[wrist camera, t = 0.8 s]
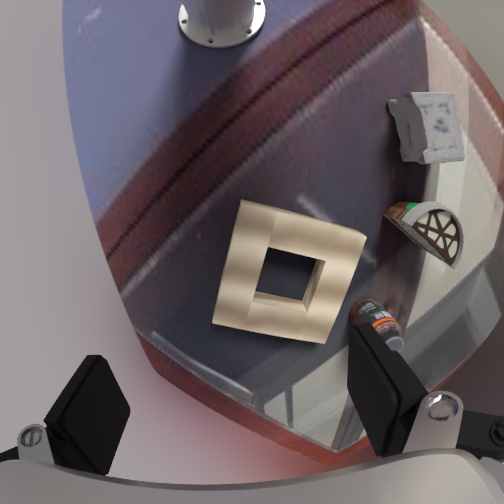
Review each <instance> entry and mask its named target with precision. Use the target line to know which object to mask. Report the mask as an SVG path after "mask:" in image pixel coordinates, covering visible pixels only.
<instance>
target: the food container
mask: <svg viewBox="0 0 504 504" xmlns="http://www.w3.org/2000/svg"><path fill="white" fill-rule="evenodd" d="M383 215H384V216H385V217H386V218H387V219H389V220H390V221H391V222H392V223H393V224H394V225H396V226H397V227H398V228H399V229H400V230H401V231H402V232H404V233H405V234H406V235H407V236H408V237H409V238H410V239H411V240H412V241H413V242H415V243H416V244H417V245H418V246H419V247H421V248H423V249H424V250H426V251H427V252H429V253H431V254H432V255H434V256H435V257H437V258H438V259H440V260H442V261H443V262H445V263H446V264H448V265H449V266H450V267H452V268H454V269H455V268H456V267H457V265H458V263H459V261H460V258H461V255H462V251H463V244H464V235H463V229H462V226H461V224H460V221H459V220H458V218H457V217H456V215H455V214H454V213H453V212H452V211H451V210H450V209H449V208H447V207H446V206H445V205H443V204H441V203H438V202H434V201H428V202H423V203H415V202H409V201H400V202H397V203H395V204H393V205H391V206H390V207H389V208H388V209H387V210H386V211H385V212H384V214H383Z"/></svg>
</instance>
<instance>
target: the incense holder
mask: <svg viewBox="0 0 504 504" xmlns="http://www.w3.org/2000/svg"><path fill="white" fill-rule="evenodd" d="M387 104H388V107H389V110H390V113H391V114H392V115H393V117H394V118H395V122H396V127H397V132H398V135H399V138H400V141H401V143H400V144H401V146H400V153H401V158H402V161H403V162H407V161H413V162H418V163H419V164H436V163H445V162H453V161H464V159H465V153H464V145H463V140H462V134H461V128H460V122H459V115H458V109H457V105H456V100H455V95H454V94H453V93H451V92H415V93H414V92H410V93H407V94H406V95H405V97H403V98H400V99H393V100H387Z"/></svg>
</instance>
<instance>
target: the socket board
mask: <svg viewBox="0 0 504 504" xmlns="http://www.w3.org/2000/svg"><path fill="white" fill-rule="evenodd" d="M366 238H367V237H366V236H365V235H363V234H362V233H360V232H359V231H357V230H355V229H351V228H348V227H344V226H341V225H338V224H334V223H331V222H327V221H324V220H320V219H317V218H313V217H309V216H306V215H302V214H298V213H295V212H291V211H287V210H283V209H280V208H276V207H272V206H268V205H264V204H260V203H256V202H252V201H248V200H244V199H241V202H240V205H239V209H238V213H237V217H236V221H235V225H234V229H233V233H232V237H231V241H230V245H229V249H228V253H227V258H226V262H225V266H224V270H223V274H222V278H221V282H220V287H219V291H218V295H217V299H216V304H215V308H214V313H213V319H212V323H214V324H218V325H223V326H228V327H233V328H237V329H242V330H247V331H253V332H258V333H263V334H268V335H274V336H280V337H285V338H291V339H298V340H304V341H310V342H317V343H324V344H325V342H326V340H327V338H328V335H329V333H330V331H331V328H332V326H333V324H334V321H335V319H336V317H337V314H338V312H339V310H340V307H341V305H342V302H343V300H344V297H345V295H346V292H347V290H348V287H349V285H350V282H351V279H352V277H353V274H354V271H355V269H356V266H357V263H358V261H359V258H360V255H361V252H362V249H363V247H364V244H365V241H366ZM268 247H271V248H275V249H279V250H283V251H287V252H291V253H295V254H300V255H304V256H308V257H312V258H316V262H315V265H314V268H313V271H312V274H311V277H310V280H309V283H308V286H307V288H306V291H305V294H304V297H303V300H302V301H300V300H295V299H290V298H285V297H280V296H276V295H271V294H266V293H261V292H257V291H255V289H256V286H257V283H258V279H259V276H260V272H261V269H262V265H263V262H264V258H265V255H266V251H267V248H268Z"/></svg>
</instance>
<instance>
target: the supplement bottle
mask: <svg viewBox="0 0 504 504" xmlns="http://www.w3.org/2000/svg"><path fill="white" fill-rule="evenodd" d="M350 320H351V322H352V324H353V326H354V325H356V324H361V323H365V322H370V323H371V324H372V325H373V327H374V328H375V329H376V331H377V332H378V333H379V335H380V336H381V337H382V339H383V340H384V341H385V343H386V344H387V345H388V347H389V348H390V349H391V351H393V350H396V351H397V352H398V353H400V352H401V350H402V348H403V345H404V341H403V339H402V338H401V328H400V326H399V324H398V323H397V322H396V321H395V320H394V319H393V317H392V316H391V315H390V314H389V313H388V312H387V311H386V310H385V308H384V307H383V306H382V305H381V304H380V303H379V302H378V301H377V300H376V299H373V298H365V299H362V300H360V301H359V302H357V303H356V304H355V305H354V307H353V308H352V310H351V313H350Z"/></svg>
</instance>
